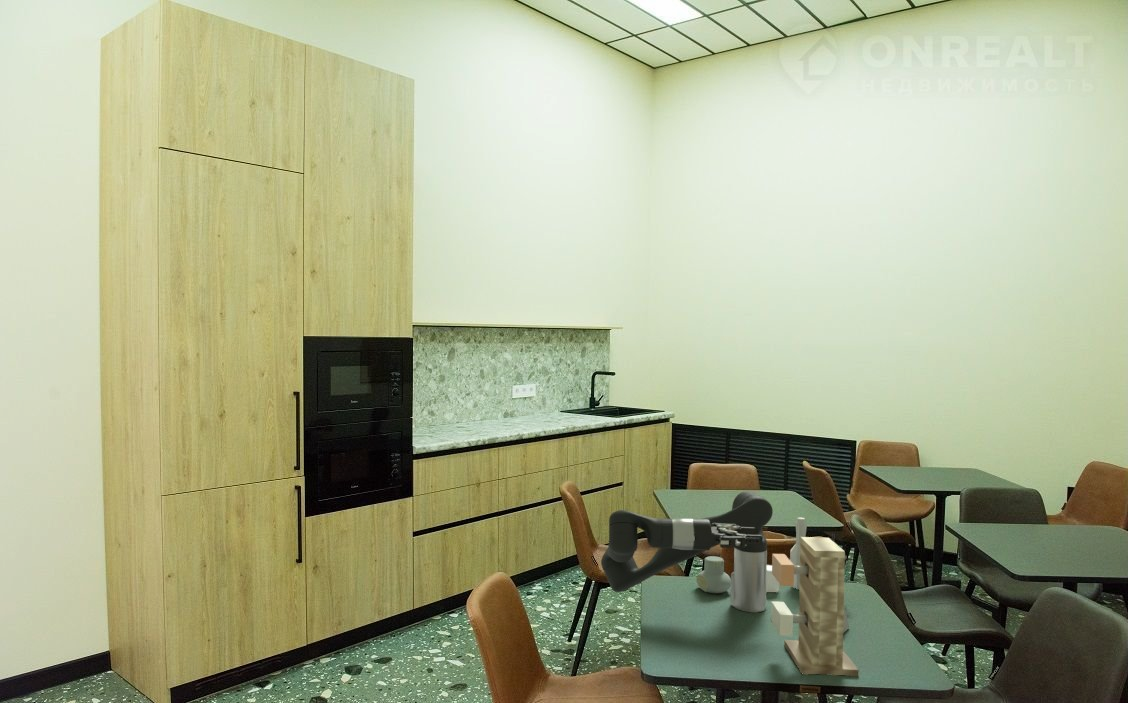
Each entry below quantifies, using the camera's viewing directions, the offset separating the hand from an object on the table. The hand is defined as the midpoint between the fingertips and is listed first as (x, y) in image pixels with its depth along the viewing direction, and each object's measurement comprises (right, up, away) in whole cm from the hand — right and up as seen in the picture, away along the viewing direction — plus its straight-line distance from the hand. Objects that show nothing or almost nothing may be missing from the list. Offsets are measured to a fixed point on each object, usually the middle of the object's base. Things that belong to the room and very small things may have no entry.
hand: (758, 536), depth 179 cm
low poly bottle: (+27, -30, +53) cm, 66 cm away
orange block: (+8, -11, 0) cm, 14 cm away
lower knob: (+8, -23, 0) cm, 24 cm away
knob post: (+15, -30, 0) cm, 34 cm away
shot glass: (+17, -30, +50) cm, 61 cm away
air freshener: (-1, -30, +49) cm, 57 cm away
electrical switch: (+25, -30, +18) cm, 43 cm away
